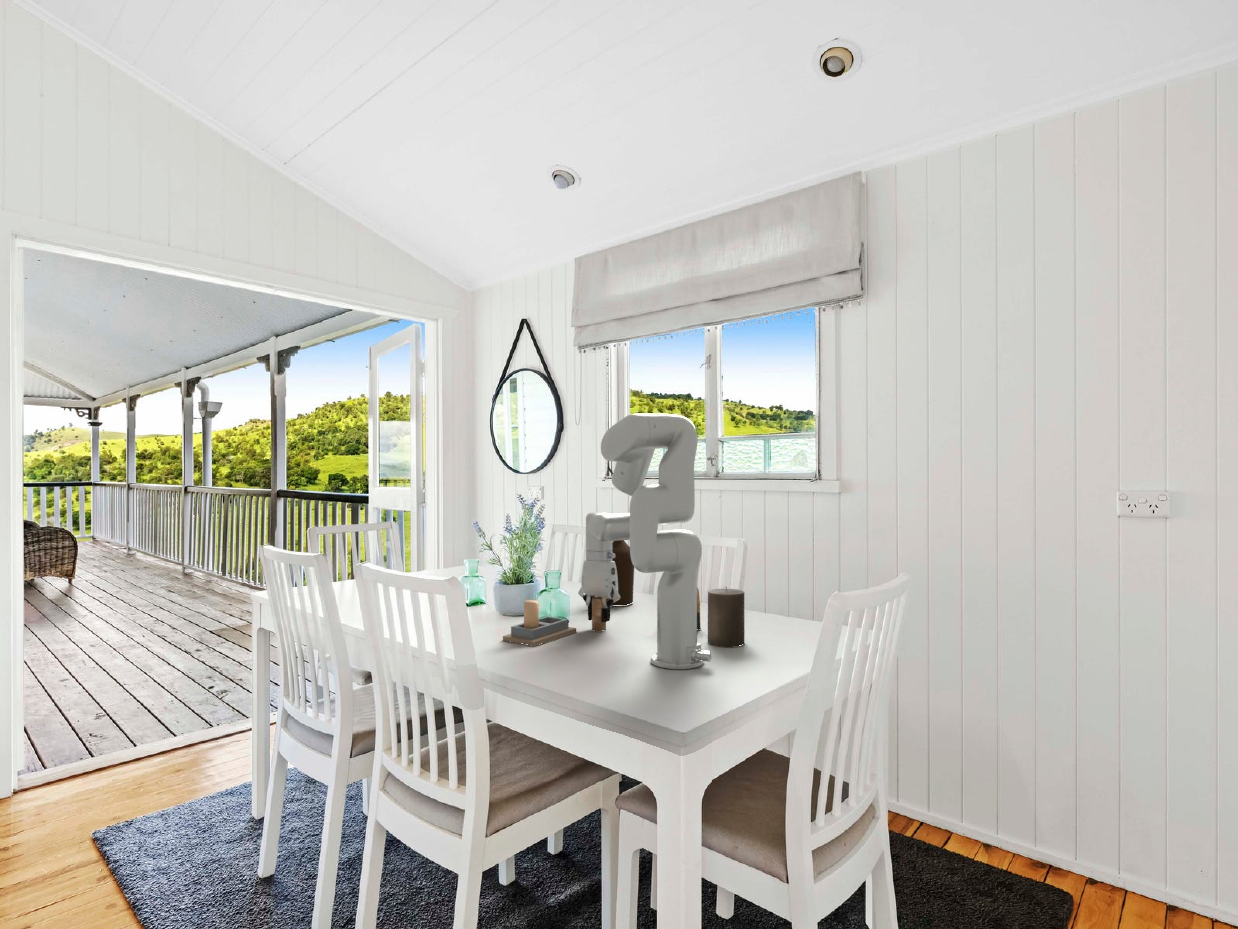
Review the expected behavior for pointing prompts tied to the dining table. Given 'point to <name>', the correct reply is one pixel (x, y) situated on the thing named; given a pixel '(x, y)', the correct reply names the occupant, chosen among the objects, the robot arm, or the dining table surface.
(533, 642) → the housing
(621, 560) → the olive oil
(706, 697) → the dining table surface
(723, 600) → the pillar candle
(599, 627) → the switch lever
